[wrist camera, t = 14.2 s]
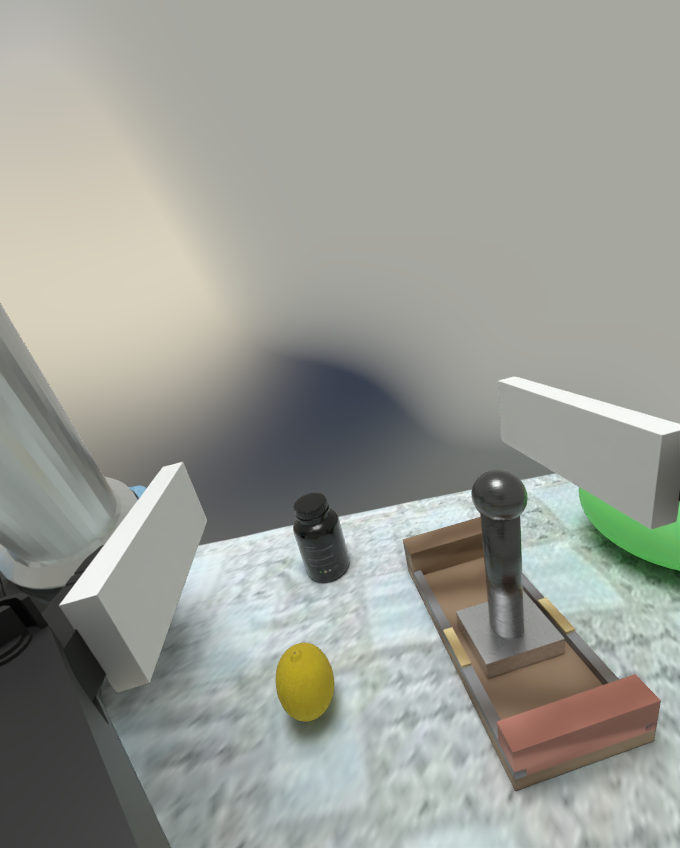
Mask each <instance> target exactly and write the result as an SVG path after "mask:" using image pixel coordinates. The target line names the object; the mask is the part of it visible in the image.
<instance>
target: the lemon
mask: <svg viewBox="0 0 680 848" xmlns="http://www.w3.org/2000/svg"><path fill="white" fill-rule="evenodd" d="M276 688H277V694H278V698H279V700H280V702H281V704H282V707H283V708H284V710H285V711H286V712H287V713H288V714H289V715H290V716H291V717H293V718H294V719H296V720H298V721H304V722H306V721H312V720H315V719H317V718H318V717H320V716H321V715H322V714H323V713H324V712H325V711H326V710H327V708H328V706H329V704H330V703H331V700H332V697H333V693H334V677H333V671H332V668H331V665H330V663H329V661H328V659H327V657H326V656H325V654H324V653H323V652H322V651H321V650H320V649H319V648H318V647H316V646H315V645H313V644H309V643H299V644H296V645H294V646H292V647H290V648H289V649H288V650H287V651H286V652H285V653H284V654H283V655H282V657H281V659H280V661H279V663H278V666H277V670H276Z"/></svg>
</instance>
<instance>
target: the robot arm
mask: <svg viewBox="0 0 680 848" xmlns="http://www.w3.org/2000/svg"><path fill="white" fill-rule="evenodd" d="M498 390H499V408H500V426H501V440H502V441H503V442H505V443H507V444H508V445H510V446H512V447H513V448H515V449H517V450H518V451H520V452H522V453H523V454H525V455H527V456H528V457H530V458H532V459H533V460H535V461H537V462H538V463H540V464H542V465H543V466H545V467H547V468H549V469H550V470H552V471H553V472H555V473H557V474H558V475H560V476H562V477H563V478H565V479H567V480H568V481H570V482H572V483H573V484H575V485H577V486H578V487H580V488H582V489H583V490H585V491H587V492H588V493H590V494H592V495H594V496H595V497H597V498H599V499H600V500H602V501H604V502H605V503H607V504H609V505H610V506H612V507H614V508H615V509H617V510H619V511H620V512H622V513H624V514H625V515H627V516H629V517H630V518H632V519H634V520H635V521H637V522H639V523H640V524H642V525H644V526H645V527H647V528H649V529H650V530H651V529H655V528H658V527H661V526H665V525H668V524H671V523H674V522H676V521H677V515H678V508H679V501H680V424H678V423H674V422H671V421H667V420H664V419H660V418H657V417H654V416H650V415H647V414H643V413H640V412H636V411H633V410H629V409H626V408H622V407H619V406H615V405H612V404H609V403H605V402H602V401H598V400H595V399H591V398H587V397H584V396H581V395H577V394H574V393H570V392H567V391H564V390H560V389H557V388H553V387H550V386H546V385H543V384H539V383H536V382H532V381H529V380H525V379H522V378H518V377H511V378H507V379H503V380H500V381H498ZM206 522H207V519H206V517H205V515H204V512H203V509H202V507H201V505H200V502H199V500H198V497H197V495H196V492H195V490H194V488H193V485H192V483H191V480H190V478H189V476H188V473H187V471H186V469H185V466H184V463H183V462H180V463H177V464H173V465H169V466H165V467H163V468H162V469H161V470H160V472H159V473H158V474H157V476H156V477H155V478H154V480H153V481H152V482H151V484H150V485H149V486H148V488H145V487H143V486H135V487H129V488H128V487H127V486H126V485H125V484H123V483H122V482H120V481H117V480H115V479H112V478H108V477H104V476H103V474H102V472H101V471H100V469H99V467H98V466H97V464H96V462H95V461H94V459H93V457H92V456H91V454H90V452H89V451H88V449H87V447H86V446H85V444H84V442H83V441H82V439H81V437H80V436H79V434H78V432H77V431H76V429H75V427H74V426H73V424H72V422H71V421H70V419H69V417H68V416H67V414H66V412H65V411H64V409H63V407H62V406H61V404H60V402H59V401H58V399H57V397H56V396H55V394H54V392H53V390H52V389H51V387H50V386H49V384H48V382H47V381H46V379H45V377H44V376H43V374H42V372H41V371H40V369H39V367H38V366H37V364H36V362H35V360H34V359H33V357H32V355H31V354H30V352H29V350H28V349H27V347H26V345H25V344H24V342H23V340H22V339H21V337H20V335H19V334H18V332H17V330H16V329H15V327H14V326H13V324H12V322H11V320H10V319H9V317H8V316H7V314H6V312H5V310H4V309H3V307H2V305H1V304H0V848H171V847H170V845H169V843H168V840H167V838H166V836H165V834H164V832H163V830H162V828H161V826H160V824H159V821H158V819H157V817H156V815H155V813H154V811H153V809H152V807H151V804H150V802H149V800H148V798H147V796H146V794H145V792H144V790H143V788H142V785H141V783H140V781H139V779H138V777H137V775H136V773H135V771H134V769H133V766H132V764H131V762H130V760H129V758H128V756H127V754H126V752H125V749H124V747H123V745H122V743H121V741H120V739H119V737H118V735H117V733H116V730H115V728H114V726H113V724H112V722H111V720H110V718H109V716H108V713H107V711H106V709H105V707H104V705H103V703H102V702H101V700H100V697H101V692H100V686H101V684H102V682H103V680H104V678H105V677H106V678H107V680H108V681H109V683H110V684H111V686H112V687H113V689H114V690H115V692H116V693H119V692H122V691H126V690H129V689H132V688H135V687H139V686H142V685H145V684H149V683H150V681H151V678H152V675H153V672H154V670H155V667H156V664H157V661H158V658H159V655H160V653H161V650H162V647H163V644H164V641H165V638H166V636H167V633H168V630H169V627H170V624H171V621H172V619H173V616H174V613H175V610H176V607H177V604H178V601H179V599H180V596H181V593H182V590H183V587H184V584H185V582H186V579H187V576H188V573H189V570H190V567H191V565H192V562H193V559H194V556H195V553H196V550H197V548H198V544H199V542H200V539H201V536H202V533H203V531H204V528H205V525H206Z"/></svg>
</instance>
